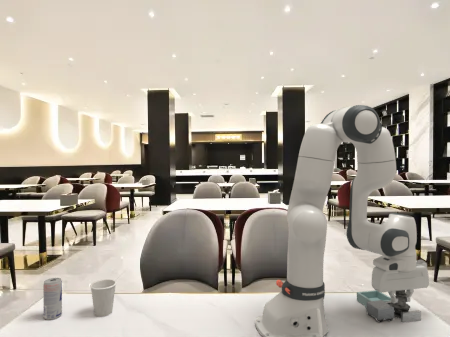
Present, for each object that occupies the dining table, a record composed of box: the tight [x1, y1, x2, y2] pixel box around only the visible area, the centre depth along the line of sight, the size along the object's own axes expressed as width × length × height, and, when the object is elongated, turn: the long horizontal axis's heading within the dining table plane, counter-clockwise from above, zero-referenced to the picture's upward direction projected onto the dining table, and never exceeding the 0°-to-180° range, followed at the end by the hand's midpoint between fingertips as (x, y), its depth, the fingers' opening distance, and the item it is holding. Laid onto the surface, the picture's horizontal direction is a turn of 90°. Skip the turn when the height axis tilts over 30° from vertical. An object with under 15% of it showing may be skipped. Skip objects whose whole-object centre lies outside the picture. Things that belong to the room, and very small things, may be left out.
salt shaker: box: [391, 290, 411, 320], centre depth 105 cm, size 6×6×12 cm
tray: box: [356, 289, 391, 308], centre depth 114 cm, size 9×9×3 cm
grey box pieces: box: [366, 300, 422, 324], centre depth 105 cm, size 15×9×4 cm, turn 103°
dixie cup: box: [89, 279, 117, 318], centre depth 106 cm, size 8×8×10 cm
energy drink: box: [42, 277, 63, 321], centre depth 104 cm, size 5×5×12 cm
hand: (400, 302), depth 105 cm, fingers closed on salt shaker, 3 cm apart
